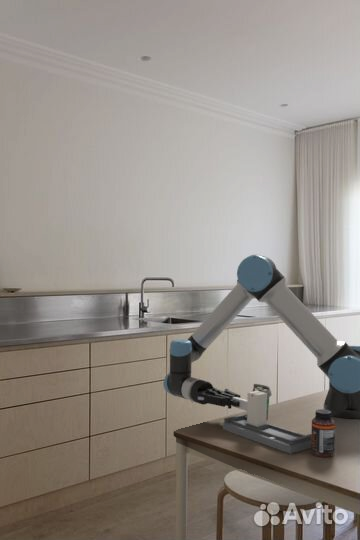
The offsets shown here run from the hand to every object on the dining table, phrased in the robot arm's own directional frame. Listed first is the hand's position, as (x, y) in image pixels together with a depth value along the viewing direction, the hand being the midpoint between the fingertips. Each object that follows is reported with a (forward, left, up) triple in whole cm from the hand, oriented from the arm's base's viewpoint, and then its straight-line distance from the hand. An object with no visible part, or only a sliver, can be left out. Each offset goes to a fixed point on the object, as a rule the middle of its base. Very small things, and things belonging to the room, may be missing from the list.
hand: (249, 406), depth 156 cm
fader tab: (-1, +2, -6) cm, 6 cm away
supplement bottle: (-3, +24, -8) cm, 26 cm away
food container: (-14, -8, -8) cm, 18 cm away
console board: (-1, +6, -8) cm, 10 cm away
